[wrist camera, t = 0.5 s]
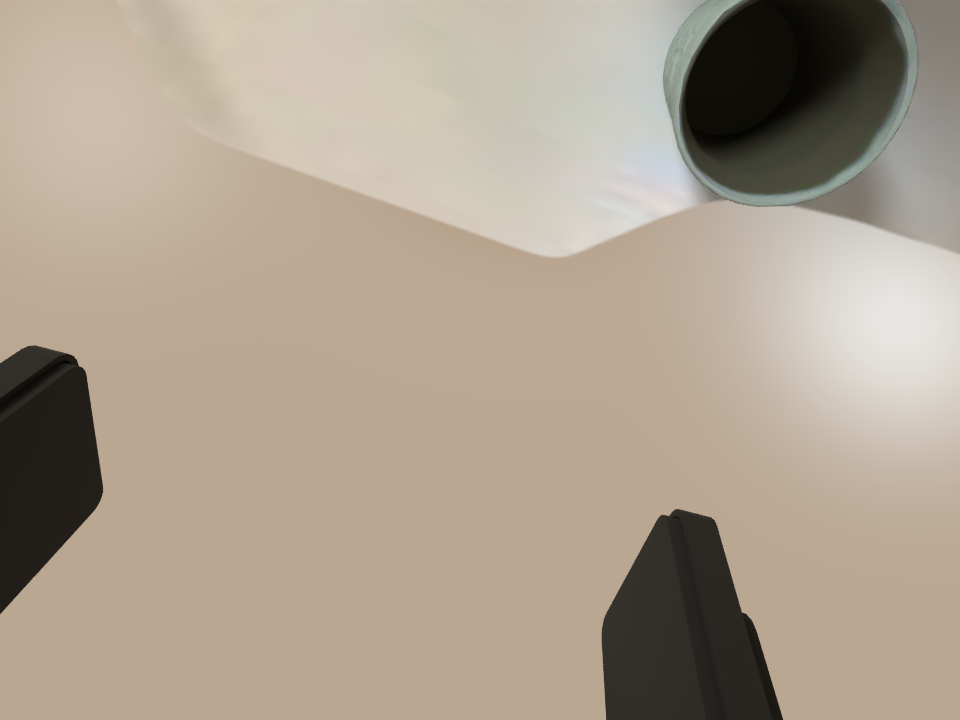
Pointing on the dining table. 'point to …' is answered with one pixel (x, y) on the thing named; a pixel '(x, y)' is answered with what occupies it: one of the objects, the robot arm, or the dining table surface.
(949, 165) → the dining table surface
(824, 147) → the green cup
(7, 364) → the robot arm
